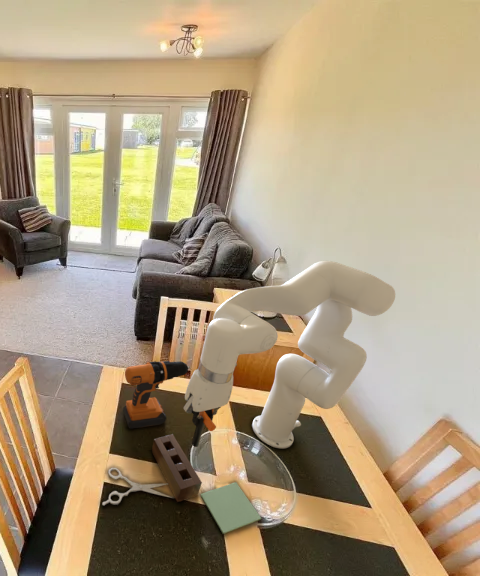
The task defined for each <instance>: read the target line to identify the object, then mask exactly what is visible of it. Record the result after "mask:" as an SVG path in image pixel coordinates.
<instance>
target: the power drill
mask: <svg viewBox="0 0 480 576" xmlns="http://www.w3.org/2000/svg"><path fill="white" fill-rule="evenodd" d="M190 368H191V366H188V365H187V363H185V362H184V361H170V360H165V361H156V360H155V361H154V360H153V361H147V362H145V364H139V365H129V366H127V367H126V368H125V370H124V378H125V380H126V383H127V384H129V385H130V386H132V387H135V386H136V387H135V388H134V391H133V394H132V399H129V400H126V401H125V406H123V409H122V413H123V415H124V419H125V421H126V424H127V427H128V428H129V429H138V428H146V427H147V428H148V427H154V426H160V425H163V423H165V422H166V421H167V415H166V414H165V411H164V409H163V406H162V404H161V402H160V401H159V399H158V398H157V397H155V396H154V397H151V393H152V392H155V391H157V390H158V389H159V388H160V387H159V385H160V384H164V382H165V381H170V380H173V379H174V378H178V377H183V376H185V375H186V374H187V373H188V371H189V369H190Z"/></svg>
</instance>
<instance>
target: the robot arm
mask: <svg viewBox="0 0 480 576" xmlns="http://www.w3.org/2000/svg"><path fill="white" fill-rule="evenodd" d="M395 299H396V290H395V288H394V286H392V285H390V284H389V283H387V282H386V281H384V280H382V279H380V278H379V277H377V276H375V275H374V274H371V273H368V272H366V271H363V270H360V269H358V268H354V267H351V266H349V265H347V264H343V263H340V262H337V261H333V260H320V261H317V262H315V263H312V264H311V265H310V266H308V267H307V268H306V269H303V271H301V272H300V273H298V274H297V275H295V276H293V277H292V278H290V279H289V280H287V281H285V282H284V283H283V284H280V285H267V286H259V287H252V288H247V289H244V290H241V291H239V292H237V293H236V294H235V295H232V296H231V297H230V298H229V299H226V300H225V301H224V302H223V303H222V304H221V305H219V306H218V307H217V308H216V310H215V312H214V314H213V319H212V320H211V321H210V322H209V324H208V326H207V329H206V333H205V337H204V342H203V345H202V350H201V355H200V359H199V363H198V367H197V368H196V369H194V371H193V373H192V375H191V377H190V379H189V381H188V384H187V387H186V390H185V394H184V400H185V401H186V402H185V405H183V407H182V408H183V410H184V412H185V413H186V414H192V419H191V420H192V424H193V425H194V426H195V428H196V427H197V428H198V429H201V428H202V424H203V420H204V418H203V413H204V411H205V412H206V413H207V415H208V416H209V418H210V419H211V420H212V421H213V419H214V416H216V415H217V413H218V410H220V409H221V408H222V407H224V406H227V405H228V403H229V402H230V399H231V395H232V392H233V388H234V387H233V386H234V372H235V369H236V367H237V366H238V363H237V361H238V359H239V356H240V355H249V354H250V355H251V354H260V353H264V352H267V351H270V350H271V349H272V348H273V347H274V346H275V344H276V343H277V341H278V337H279V335H278V331H277V329H276V327H274V326H273V325H272V324H271V323H269V322H268V321H266V320H264V319H263V318H261V317H259V316H257V315H256V314H254V313H253V312H268V313H275V314H279V315H286V316H294V317H301V316H305V315H307V314H309V313H310V312H311V311H313V310H315V312H314V314H313V315H312V317H311V318H310V319H309V322H308V323H307V325H306V326H305V328H304V330H303V331H302V333H301V334H300V336H299V339H298V341H297V347H298V349H299V350H300V351H301V352H302V353H303V354H304V355H306V356H307V357H309V358H311V359H312V360H314V361H315V362H317V363H318V364H320V365H322V366H324V367H325V368H327V369H328V370H329V372H328V371H326V370H325V369H323V368H321V367H320V366H318V365H317V364H316V363H314V362H312V361H311V360H308V359H307V358H306V357H304V356H302V355H299V354H297V353H286V354H284V355H282V356H281V357H280V358H279V360H278V361H277V362H276V366H275V372H274V378H273V379H274V380H273V384H272V386H271V389H270V391H269V394H268V397H267V399H266V401H265V403H264V407H263V408H262V412H261V415H257V416H255V417H254V419H253V421H252V424H251V427H252V430H253V432H254V434H255V435H256V436H257V438H258V439H259V440H260V441H262V443H264V444H266V445H269V446H271V447H273V448H276V449H288V448H290V447H291V446H292V445H293V443H294V440H295V438H294V434H293V430H295V429H296V428H299V427H301V426H302V423H301V421H300V420H298V419H299V416H300V414H301V412H302V410H303V408H304V407H305V404H306V399H307V400H308V401H310V402H311V403H312V404H314V405H315V406H317V407H319V408H321V409H324V410H330V409H333V408H334V407H335V406H337V405H338V404H339V402H340V401H341V400H342V398H344V396H345V394H346V393H347V391H348V390H349V389H350V387H351V386H352V384H353V383H354V382H355V380H356V378H357V377H358V376H359V374H360V373H361V371H362V370H363V368H364V367H365V365H366V362H367V357H368V355H367V352H366V350H365V349H364V348H363V347H362V346H361V345H359V344H357V343H355V342H354V341H352V340H350V339H348V338H346V337H345V333H346V331H347V330H348V328H349V326H350V325H351V323H352V321H353V311H352V310H355V311H357V312H359V313H361V314H365V315H367V316H369V317H376V316H377V317H378V316H380V315H382V314H385V313H386V312H387V311H388V310H390V309H391V307H392V306H393V304H394V302H395Z"/></svg>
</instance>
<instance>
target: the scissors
mask: <svg viewBox="0 0 480 576" xmlns="http://www.w3.org/2000/svg"><path fill="white" fill-rule="evenodd" d="M111 471H116V472H117V473H118V475H114V474H112V473H111ZM108 476H109V477H110V478H111V479H113V480H115V481H116V480H118V479H122V480H124V481H125V482H127V483H128V484H129V485H130V486H131V488H129V490H127V491H126V492H119V491H117V490H113V491H112V492H111V493H109V495H108V499H107V500H105V501H103V502H102V504H101V505H102V506H103V507H105V506H106V505H107V504H109V503H110V505H115V506H116V505H119V504H120V503H121V501H122V499H123V498H124V497H128V495H129V494H130V493H132V492H139V491H142V492H146V493H149V494H154V495H157V496H162V497H166V498H171V499H174V497H173V496H170V495H168V494H165V493H163V492H160V491H157V490H154V489H153V488H158V487H162V486H167V485H168V483H145V484H140V483H137V482H134V481H132V480H130V479H128V477H127V476H123V475H122V472H121V471H120V470H119V469H118V468H117V467H111V468H109V469H108ZM112 496H118V497H119V498H118V500H112V499H111V497H112Z"/></svg>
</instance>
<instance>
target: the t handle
mask: <svg viewBox="0 0 480 576" xmlns="http://www.w3.org/2000/svg"><path fill="white" fill-rule="evenodd" d="M203 418H204V420H203V424H202V428H201V429H198V428H197V427H196V426H195V429H194V433H193V437H192V441H191V445H192V446H193V447H195V448H198V447H199V445H200V441H201V439H202V435H203V432H204V428H205V427H206V429H207V430H208V431H209V432H213V431H215V430H216V428H217V425H216V424H215V422H214V421H213V420H211V419H210V418H209V416H208V415H207V413H206V412H205V411H204V413H203Z"/></svg>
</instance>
